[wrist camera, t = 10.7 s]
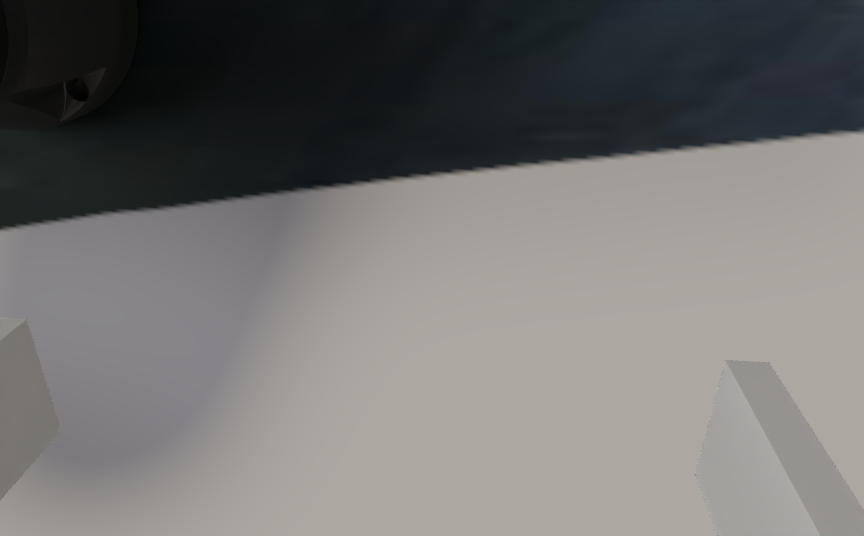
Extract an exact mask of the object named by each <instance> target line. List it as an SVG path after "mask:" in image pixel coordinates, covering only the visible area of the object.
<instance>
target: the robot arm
mask: <svg viewBox="0 0 864 536" xmlns="http://www.w3.org/2000/svg"><path fill="white" fill-rule="evenodd" d="M137 35H138V6H137V0H0V129H4V130H20V131H27V130H39V129H46V128H50V127H55V126H58V125H61V124H64V123H66V122H69V121H71V120H74V119H76V118H78V117H81V116H83V115H86V114H88V113H90V112H92V111H93V110H95V109H97V108H98V107H100V106H101V105H102V104H103V103H105V102H106V101H107V100H108V99H109V98H110V97H111V96H112V95H113V94H114V93H115V91H116V90H117V89H118V88H119V86H120V85H121V83H122V82H123V80H124V78H125V76H126V75H127V72H128V70H129V68H130V65H131V63H132V60H133V56H134V53H135V48H136V43H137ZM60 431H61V428H60V424H59V421H58V418H57V415H56V412H55V408H54V405H53V402H52V399H51V396H50V393H49V389H48V386H47V383H46V379H45V376H44V373H43V370H42V367H41V363H40V360H39V357H38V354H37V351H36V347H35V344H34V341H33V338H32V334H31V331H30V328H29V325H28V321H27V319H22V318H5V317H0V500H1V499H2V498H3V497H4V495H5V494H6V493H7V492H8V491H9V490H10V489H11V487H12V486H13V485H14V484H15V483H16V481H17V480H18V479H19V478H20V477H21V476H22V475H23V474H24V472H25V471H26V470H27V469H28V468H29V467H30V465H31V464H32V463H33V462H34V461H35V460H36V458H37V457H38V456H39V455H40V454H41V453H42V451H43V450H44V449H45V448H46V447H47V446H48V444H50V442H51V441H52V440H53V439H54V438H55V437H56V435H57V434H58V433H59V432H60ZM695 476H696V479H697V482H698V484H699V487H700V490H701V492H702V495H703V498H704V500H705V503H706V506H707V509H708V511H709V514H710V517H711V519H712V522H713V525H714V527H715V530H716V533H717V536H864V510H863V508H862V507H861V505H860V504H859V502H858V501H857V499H856V498H855V496H854V494H853V493H852V491H851V490H850V488H849V487H848V485H847V483H846V482H845V480H844V479H843V477H842V476H841V474H840V473H839V471H838V469H837V468H836V466H835V465H834V463H833V462H832V460H831V459H830V457H829V455H828V454H827V452H826V451H825V449H824V448H823V446H822V444H821V443H820V441H819V440H818V438H817V437H816V435H815V433H814V432H813V430H812V429H811V427H810V426H809V424H808V423H807V421H806V420H805V418H804V416H803V415H802V413H801V412H800V410H799V408H798V407H797V405H796V404H795V402H794V401H793V399H792V398H791V396H790V394H789V393H788V391H787V390H786V388H785V387H784V385H783V383H782V382H781V380H780V379H779V377H778V376H777V374H776V372H775V371H774V369H773V368H772V366H771V365H770V363H767V362H766V363H765V362H750V361H749V362H748V361H732V360H725V363H724V367H723V371H722V374H721V378H720V382H719V386H718V389H717V393H716V397H715V401H714V405H713V408H712V412H711V416H710V420H709V424H708V427H707V431H706V435H705V439H704V442H703V446H702V450H701V454H700V458H699V461H698V465H697V469H696V473H695Z"/></svg>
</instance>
